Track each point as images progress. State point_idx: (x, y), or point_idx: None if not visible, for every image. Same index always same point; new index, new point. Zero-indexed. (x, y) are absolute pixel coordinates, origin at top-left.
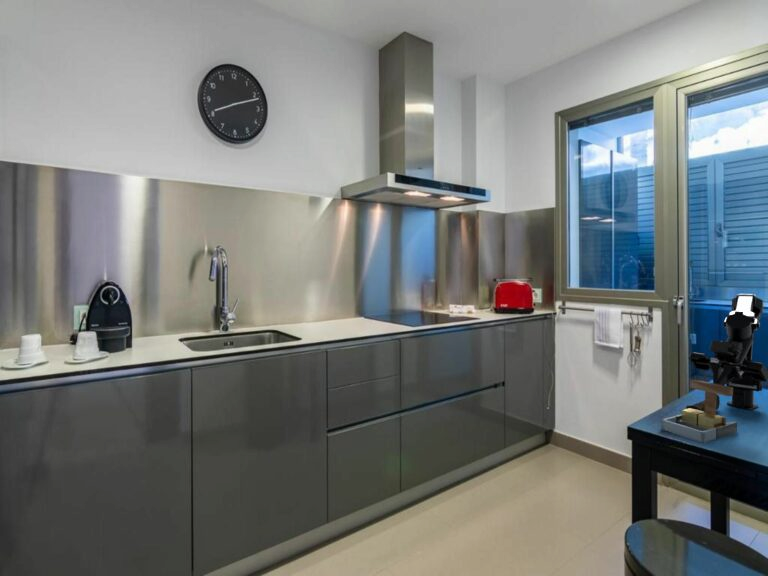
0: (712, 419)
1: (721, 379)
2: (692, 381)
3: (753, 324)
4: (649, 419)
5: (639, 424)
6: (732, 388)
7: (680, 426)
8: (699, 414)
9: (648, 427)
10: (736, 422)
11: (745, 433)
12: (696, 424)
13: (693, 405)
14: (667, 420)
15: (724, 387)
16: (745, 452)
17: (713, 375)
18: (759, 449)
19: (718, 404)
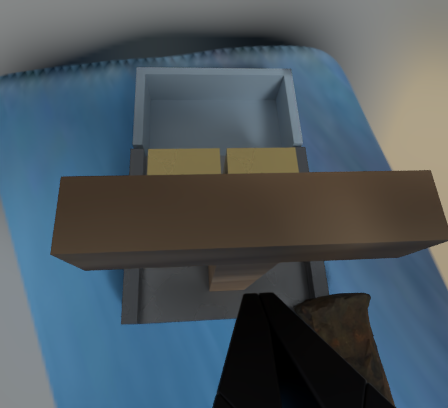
0: (156, 151)
1: (230, 362)
2: (405, 176)
3: None
4: (374, 153)
5: (342, 82)
6: (56, 246)
7: (219, 71)
8: (218, 154)
9: (311, 82)
10: (122, 316)
11: (108, 353)
12: (222, 170)
13: (361, 334)
14: (284, 93)
15: (107, 178)
16: (31, 134)
17: (372, 391)
18: (8, 203)
19: None
